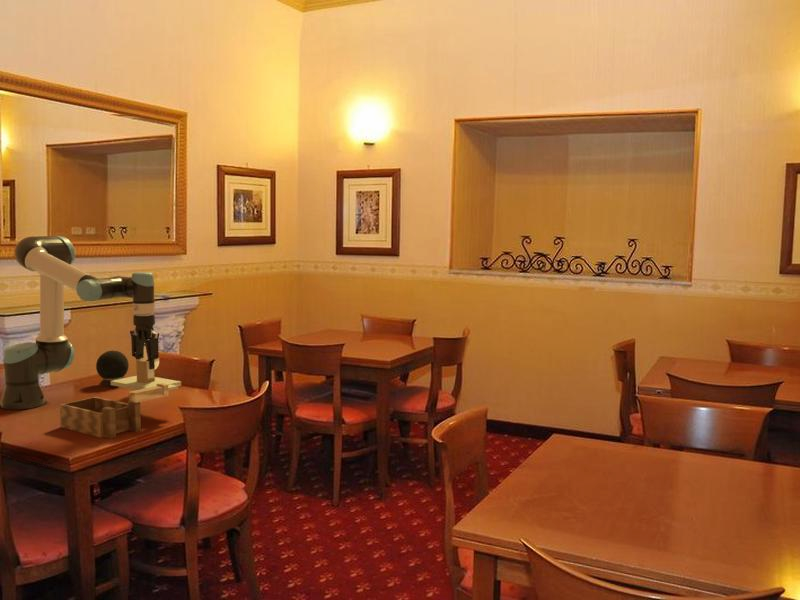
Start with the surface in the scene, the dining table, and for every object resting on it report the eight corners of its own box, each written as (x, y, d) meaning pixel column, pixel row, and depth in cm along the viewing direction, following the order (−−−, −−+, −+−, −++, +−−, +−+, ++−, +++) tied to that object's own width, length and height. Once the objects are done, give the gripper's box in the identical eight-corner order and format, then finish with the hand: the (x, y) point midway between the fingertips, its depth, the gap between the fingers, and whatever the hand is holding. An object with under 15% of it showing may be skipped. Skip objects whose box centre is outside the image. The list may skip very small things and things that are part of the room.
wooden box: (60, 427, 261) (59, 399, 260) (96, 418, 273) (95, 391, 272) (108, 439, 248) (107, 410, 247) (143, 429, 259) (142, 401, 258)
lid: (110, 386, 280) (110, 359, 279) (142, 379, 291) (141, 354, 290) (157, 395, 266) (157, 367, 265) (188, 388, 278) (188, 361, 277)
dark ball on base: (132, 381, 334) (132, 348, 332) (124, 388, 321) (123, 353, 319) (102, 381, 333) (101, 348, 331) (92, 388, 320) (91, 353, 318)
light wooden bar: (128, 401, 258) (128, 390, 257) (160, 393, 270) (160, 382, 269) (136, 403, 256) (135, 391, 255) (168, 395, 267) (168, 384, 267)
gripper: (119, 313, 278) (121, 375, 281) (151, 317, 269) (153, 381, 272) (136, 311, 285) (138, 372, 287) (168, 315, 275) (170, 378, 278)
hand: (145, 376), depth 279 cm, fingers closed on lid, 4 cm apart
